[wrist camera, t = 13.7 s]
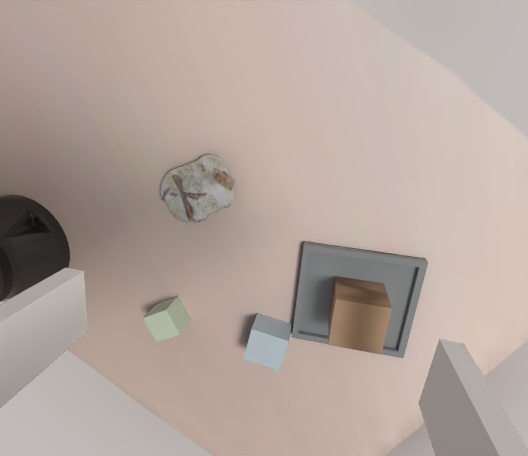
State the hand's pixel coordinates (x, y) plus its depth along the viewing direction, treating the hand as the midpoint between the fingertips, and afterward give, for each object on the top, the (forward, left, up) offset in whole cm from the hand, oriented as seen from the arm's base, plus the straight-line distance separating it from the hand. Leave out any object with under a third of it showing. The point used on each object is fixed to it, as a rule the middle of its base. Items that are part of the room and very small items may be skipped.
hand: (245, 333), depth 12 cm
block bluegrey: (-2, -22, -31) cm, 37 cm away
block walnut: (+8, -14, -30) cm, 34 cm away
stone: (-9, -3, -31) cm, 32 cm away
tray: (+8, -14, -30) cm, 34 cm away
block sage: (-17, -21, -30) cm, 41 cm away
